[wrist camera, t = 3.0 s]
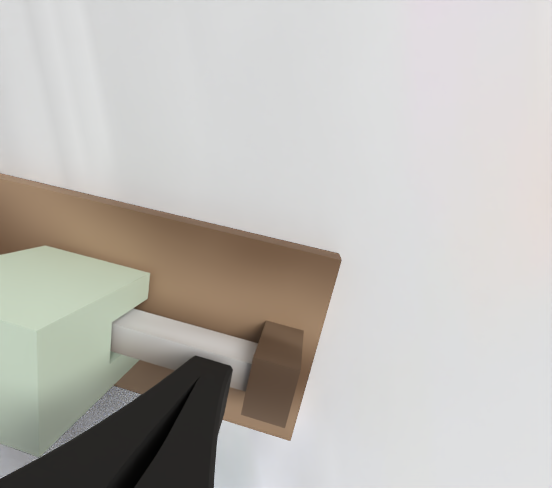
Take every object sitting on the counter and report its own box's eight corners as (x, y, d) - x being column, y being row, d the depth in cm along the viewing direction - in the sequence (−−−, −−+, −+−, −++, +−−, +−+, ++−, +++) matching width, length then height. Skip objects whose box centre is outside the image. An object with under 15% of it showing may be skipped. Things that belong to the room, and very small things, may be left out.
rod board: (292, 421, 13) (283, 516, 9) (-156, 284, 15) (-302, 314, 12) (338, 253, 11) (352, 287, 7) (-190, 128, 13) (-382, 105, 10)
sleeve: (142, 357, 12) (39, 457, 7) (46, 328, 12) (-104, 406, 8) (150, 272, 11) (36, 330, 6) (45, 245, 11) (-128, 281, 7)
